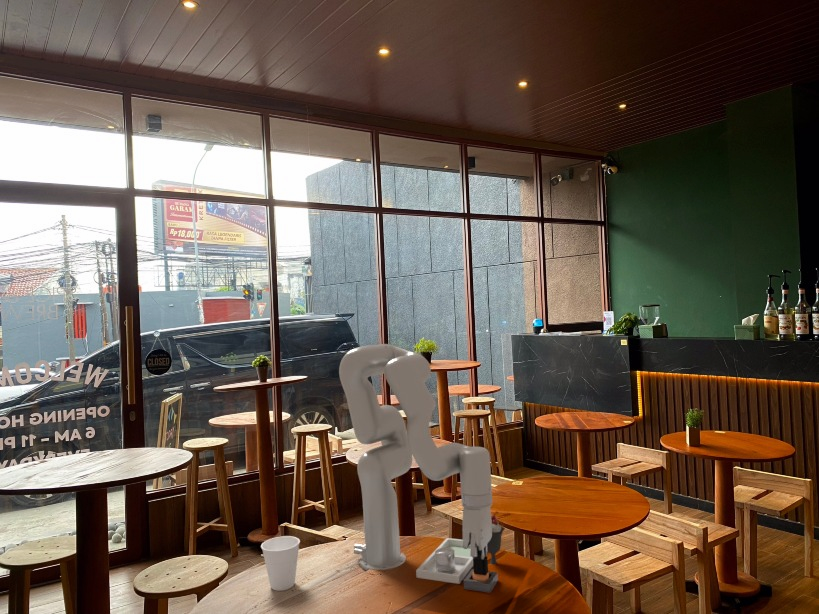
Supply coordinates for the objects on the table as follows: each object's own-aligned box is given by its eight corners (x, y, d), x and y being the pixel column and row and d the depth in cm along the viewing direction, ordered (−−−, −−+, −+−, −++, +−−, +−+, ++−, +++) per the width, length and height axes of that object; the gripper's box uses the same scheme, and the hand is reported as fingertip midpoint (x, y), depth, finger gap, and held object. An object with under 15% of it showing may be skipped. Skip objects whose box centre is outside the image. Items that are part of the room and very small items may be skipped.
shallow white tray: (416, 581, 151) (416, 570, 151) (447, 547, 172) (446, 537, 172) (459, 587, 146) (459, 576, 146) (485, 552, 167) (485, 542, 167)
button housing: (464, 592, 144) (463, 580, 144) (472, 580, 150) (472, 569, 150) (490, 596, 141) (489, 584, 141) (498, 584, 147) (497, 572, 147)
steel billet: (433, 573, 153) (432, 554, 153) (440, 565, 157) (439, 546, 157) (451, 576, 151) (450, 556, 151) (458, 568, 155) (457, 549, 155)
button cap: (470, 585, 144) (470, 575, 144) (475, 578, 148) (475, 568, 148) (486, 587, 143) (485, 577, 143) (491, 580, 146) (490, 570, 146)
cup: (288, 573, 160) (286, 533, 160) (309, 584, 152) (307, 541, 153) (255, 587, 153) (253, 544, 153) (276, 599, 146) (274, 554, 146)
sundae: (506, 572, 154) (503, 514, 154) (480, 571, 155) (477, 514, 155) (507, 561, 160) (504, 506, 160) (482, 560, 161) (479, 505, 161)
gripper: (471, 488, 154) (475, 559, 154) (452, 507, 140) (456, 584, 140) (499, 490, 151) (503, 562, 151) (482, 509, 137) (487, 589, 137)
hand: (481, 573), depth 145 cm, fingers closed
